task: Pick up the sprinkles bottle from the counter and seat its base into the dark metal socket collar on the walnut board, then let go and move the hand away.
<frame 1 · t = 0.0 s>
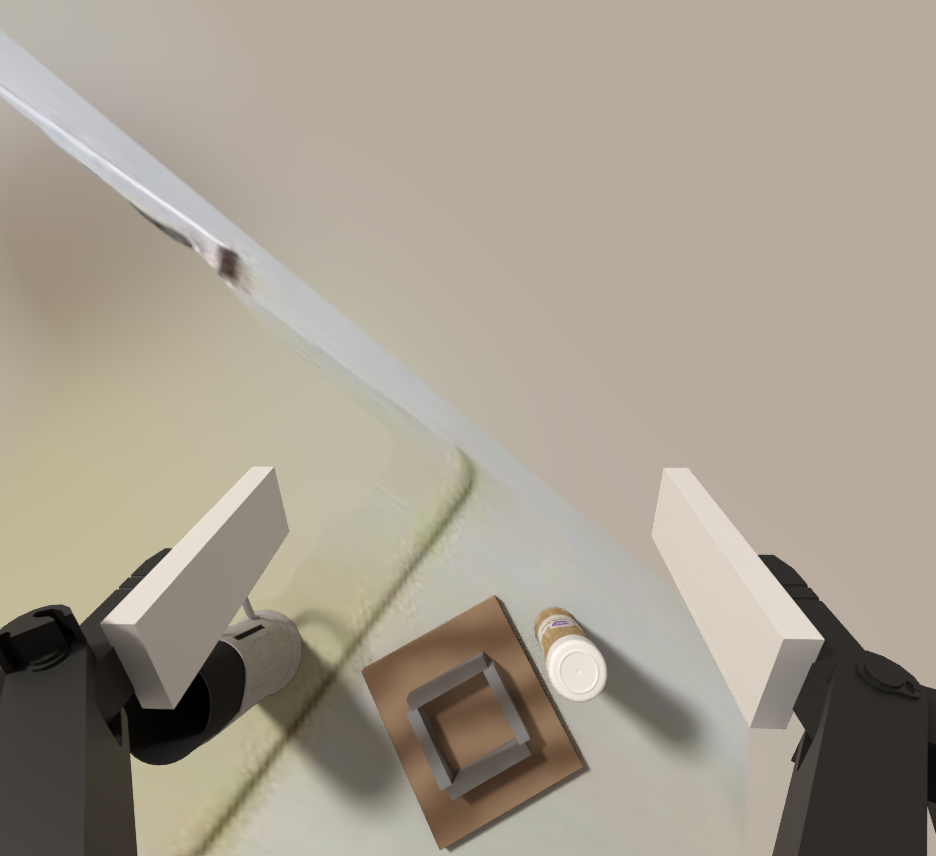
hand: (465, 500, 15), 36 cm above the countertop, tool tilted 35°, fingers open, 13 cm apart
socket board: (469, 713, 47), on the countertop
sprinkles bottle: (554, 628, 48), on the countertop
glass holder: (265, 625, 50), on the countertop
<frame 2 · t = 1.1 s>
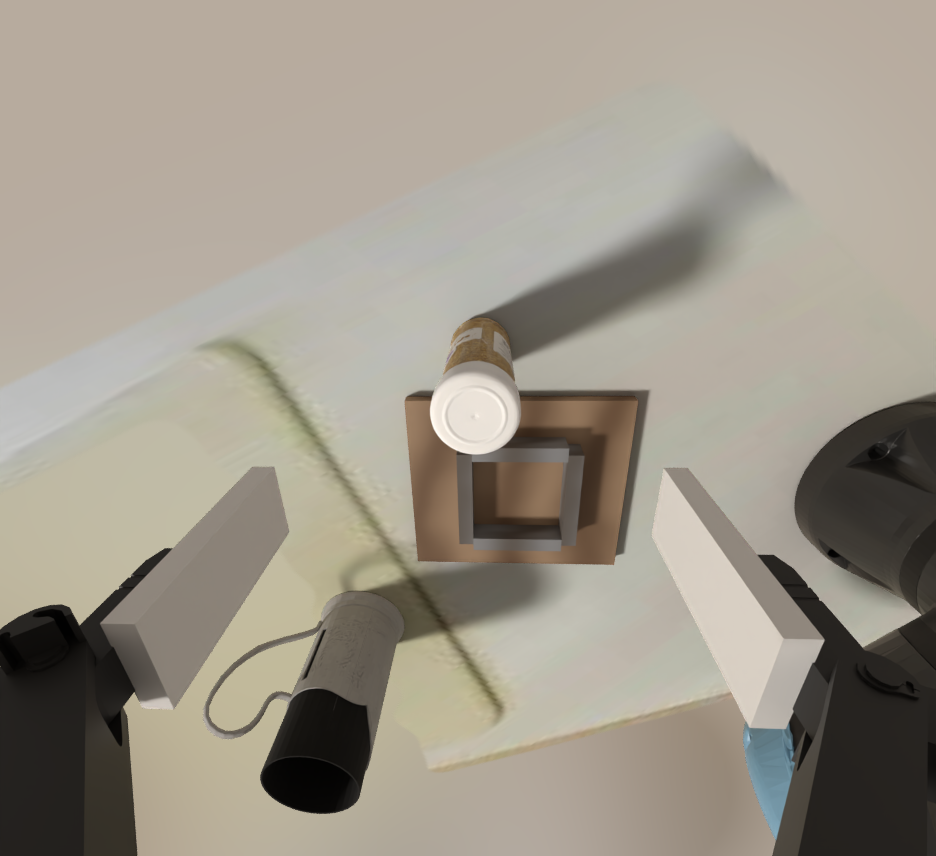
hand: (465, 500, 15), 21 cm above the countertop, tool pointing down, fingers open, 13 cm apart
socket board: (516, 482, 39), on the countertop
sprinkles bottle: (481, 346, 34), on the countertop
glass holder: (339, 611, 47), on the countertop
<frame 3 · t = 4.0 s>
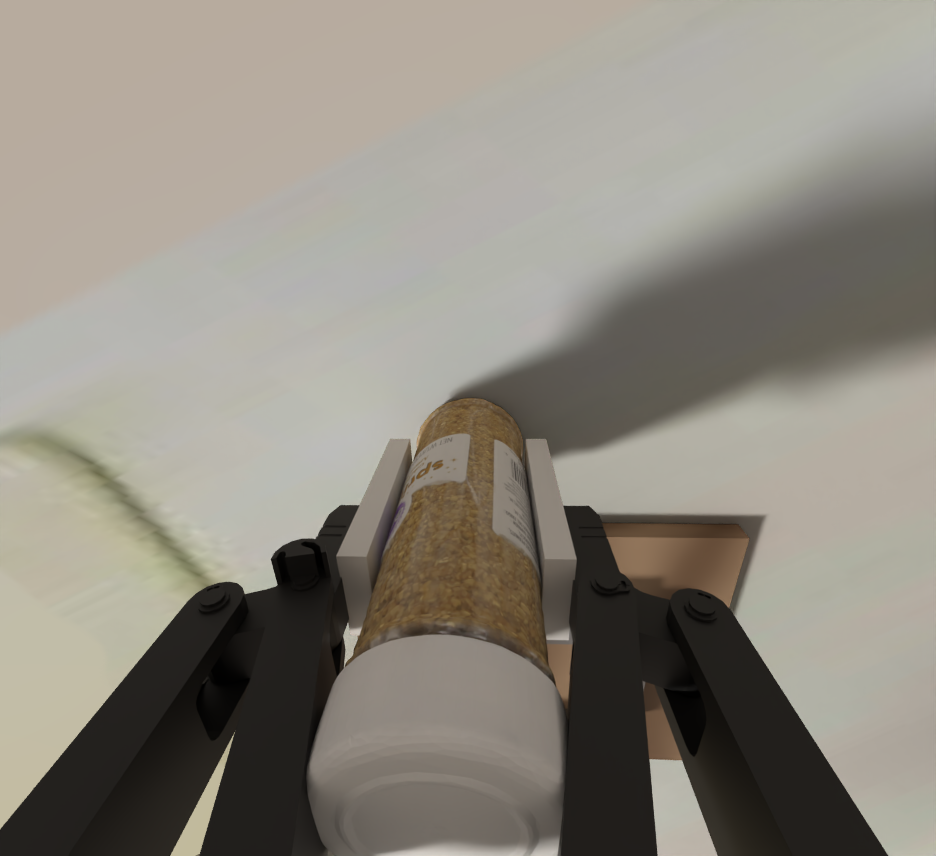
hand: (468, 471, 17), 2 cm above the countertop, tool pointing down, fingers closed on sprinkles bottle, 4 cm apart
socket board: (531, 644, 24), on the countertop
sprinkles bottle: (471, 443, 19), on the countertop, touching gripper
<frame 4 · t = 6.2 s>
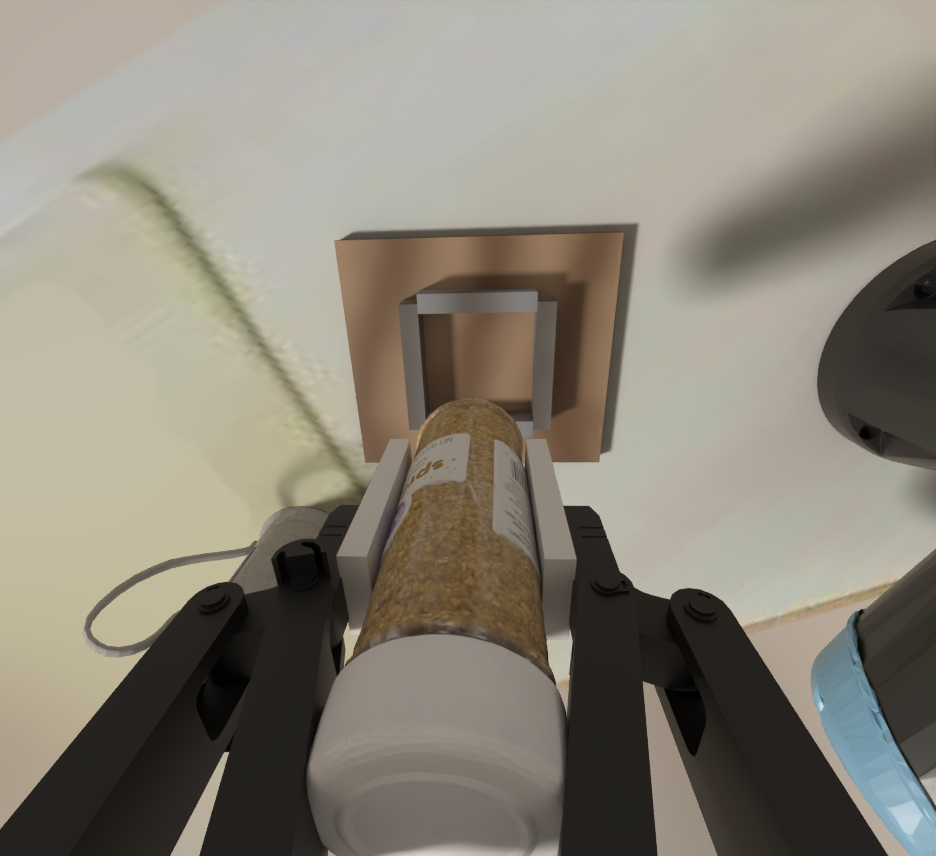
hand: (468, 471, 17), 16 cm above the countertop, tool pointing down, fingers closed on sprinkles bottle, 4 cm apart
socket board: (479, 357, 32), on the countertop
sprinkles bottle: (471, 442, 19), point 14 cm above the countertop, touching gripper
glass holder: (280, 534, 40), on the countertop
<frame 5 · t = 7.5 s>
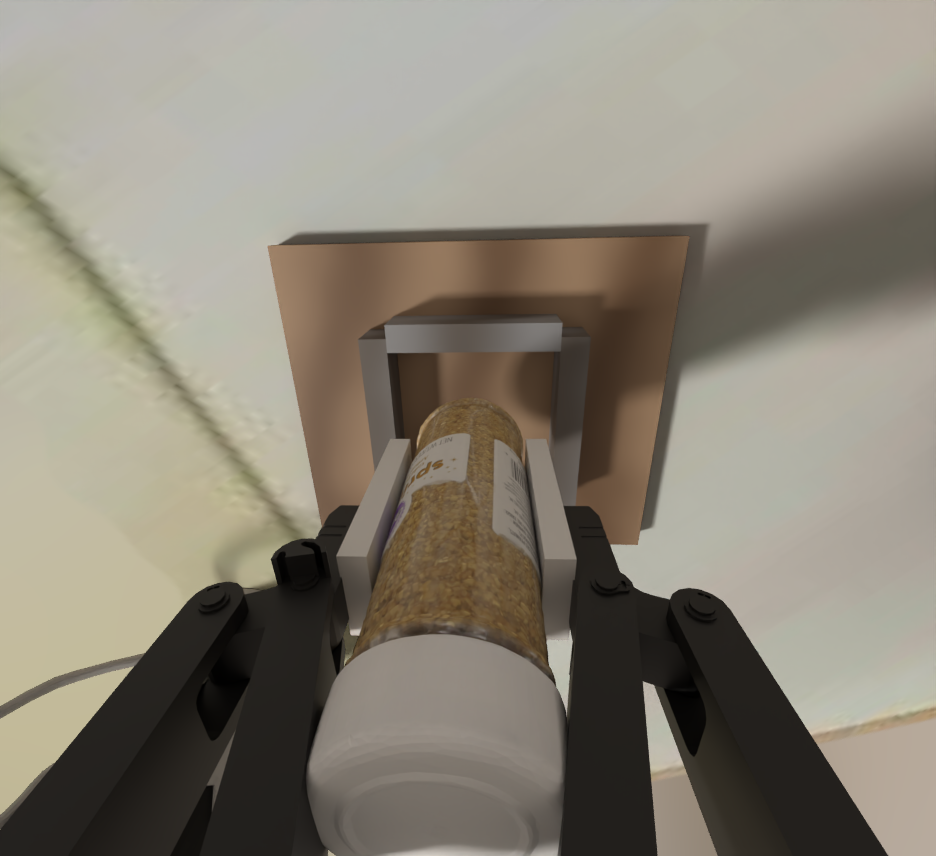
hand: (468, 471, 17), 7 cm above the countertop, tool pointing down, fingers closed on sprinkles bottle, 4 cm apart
socket board: (476, 406, 23), on the countertop
sprinkles bottle: (471, 442, 19), point 4 cm above the countertop, touching gripper
glass holder: (222, 619, 31), on the countertop
when the fingers open (4 cm above the countertop, at t = 8.5 s): sprinkles bottle drops 1 cm, resting on socket board.
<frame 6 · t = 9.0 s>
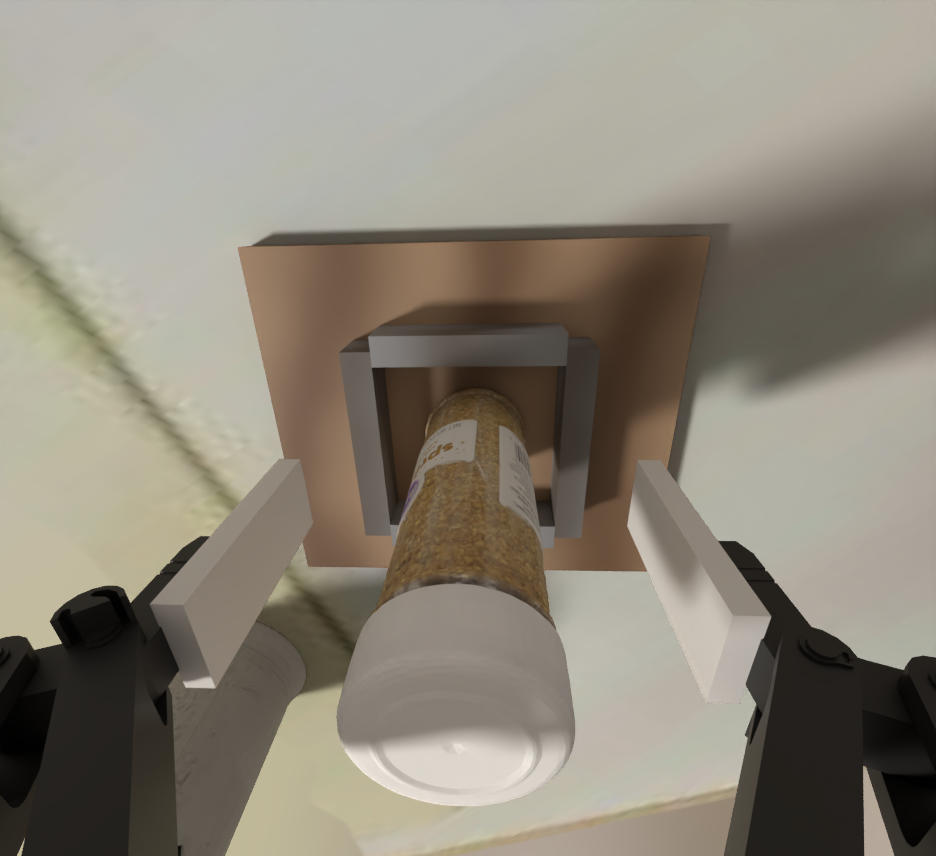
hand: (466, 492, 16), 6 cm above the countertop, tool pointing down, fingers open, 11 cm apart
socket board: (472, 423, 21), on the countertop
sprinkles bottle: (476, 431, 21), point 1 cm above the countertop, touching socket board
glass holder: (200, 647, 29), on the countertop
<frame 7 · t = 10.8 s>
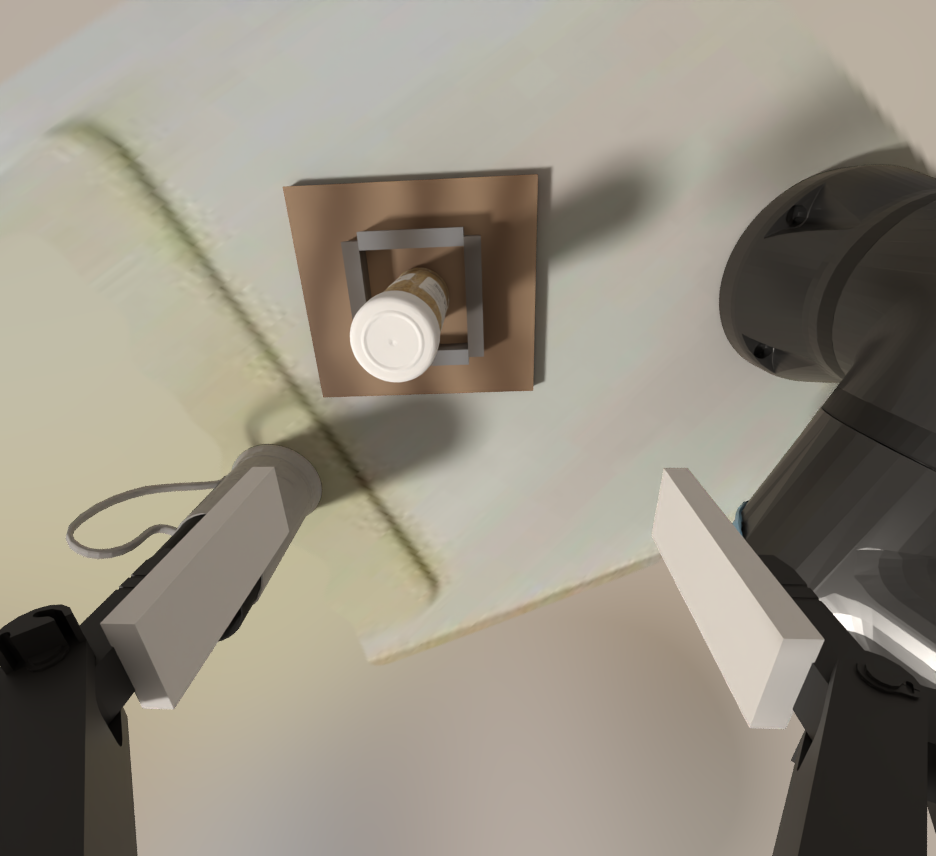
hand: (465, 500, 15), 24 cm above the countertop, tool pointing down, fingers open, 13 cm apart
socket board: (420, 295, 36), on the countertop
sprinkles bottle: (422, 297, 35), point 1 cm above the countertop, touching socket board
glass holder: (250, 472, 43), on the countertop
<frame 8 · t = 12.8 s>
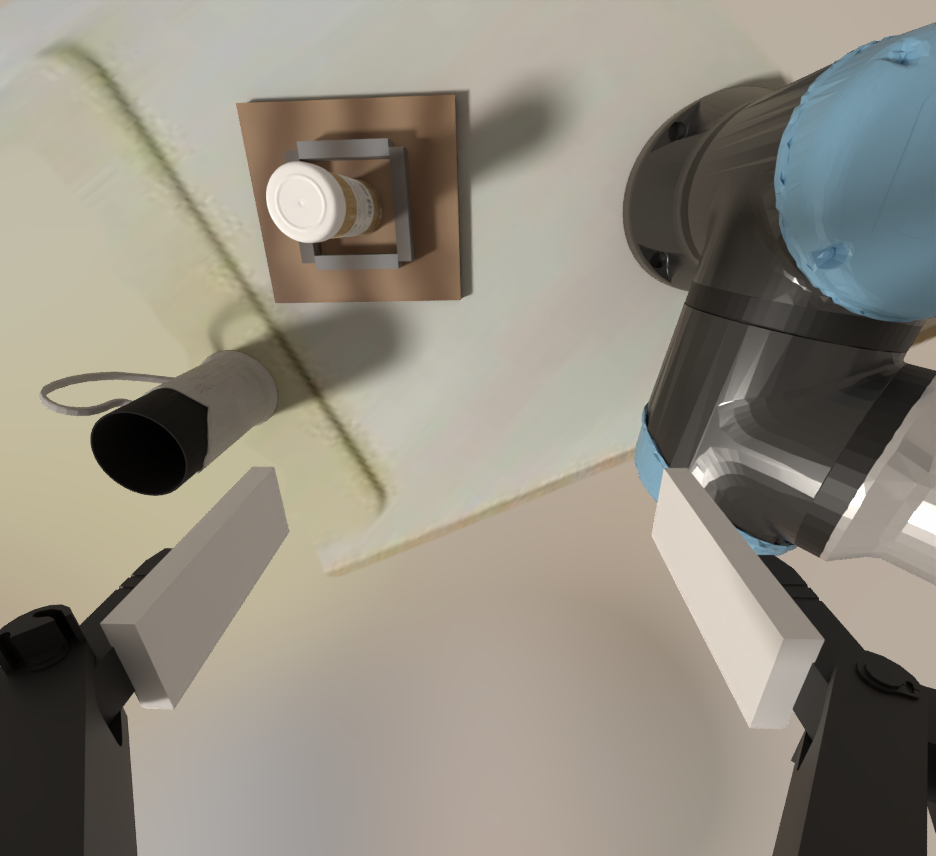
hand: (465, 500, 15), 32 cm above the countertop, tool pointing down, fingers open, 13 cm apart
socket board: (359, 209, 40), on the countertop
sprinkles bottle: (359, 209, 40), point 1 cm above the countertop, touching socket board
glass holder: (214, 378, 48), on the countertop
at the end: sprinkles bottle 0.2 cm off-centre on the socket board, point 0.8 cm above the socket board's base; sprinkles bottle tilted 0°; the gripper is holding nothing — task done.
